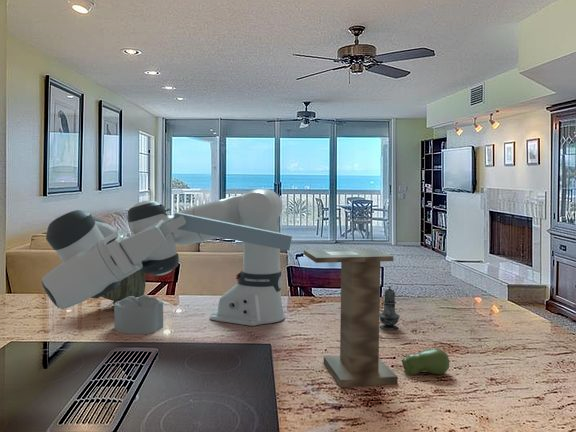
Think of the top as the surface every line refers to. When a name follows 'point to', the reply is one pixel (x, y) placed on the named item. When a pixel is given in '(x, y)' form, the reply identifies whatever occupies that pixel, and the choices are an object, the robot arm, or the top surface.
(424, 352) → the pear
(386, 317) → the dark chess piece
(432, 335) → the top surface
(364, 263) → the shelf stand
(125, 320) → the lumpy-topped squat cylinder
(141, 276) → the tabletop clock
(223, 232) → the batten
